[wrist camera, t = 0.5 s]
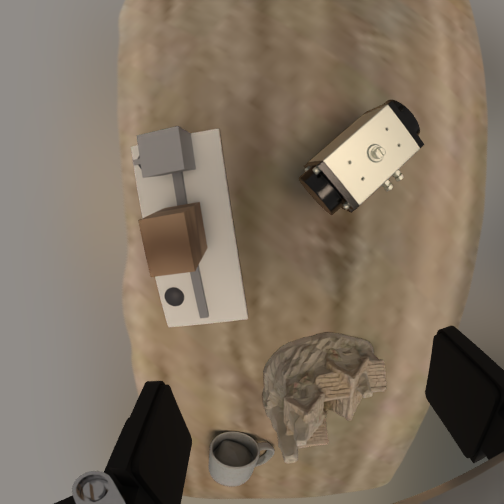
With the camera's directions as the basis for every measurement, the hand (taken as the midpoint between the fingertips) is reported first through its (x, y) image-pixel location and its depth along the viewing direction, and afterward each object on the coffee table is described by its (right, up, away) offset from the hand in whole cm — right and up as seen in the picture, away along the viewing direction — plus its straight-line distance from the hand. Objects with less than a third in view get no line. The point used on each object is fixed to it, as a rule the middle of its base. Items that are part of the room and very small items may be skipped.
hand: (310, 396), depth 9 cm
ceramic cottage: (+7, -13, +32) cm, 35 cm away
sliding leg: (-10, +7, +23) cm, 27 cm away
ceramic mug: (-4, -27, +35) cm, 45 cm away
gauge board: (-9, +7, +26) cm, 28 cm away
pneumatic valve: (+8, +15, +24) cm, 29 cm away
